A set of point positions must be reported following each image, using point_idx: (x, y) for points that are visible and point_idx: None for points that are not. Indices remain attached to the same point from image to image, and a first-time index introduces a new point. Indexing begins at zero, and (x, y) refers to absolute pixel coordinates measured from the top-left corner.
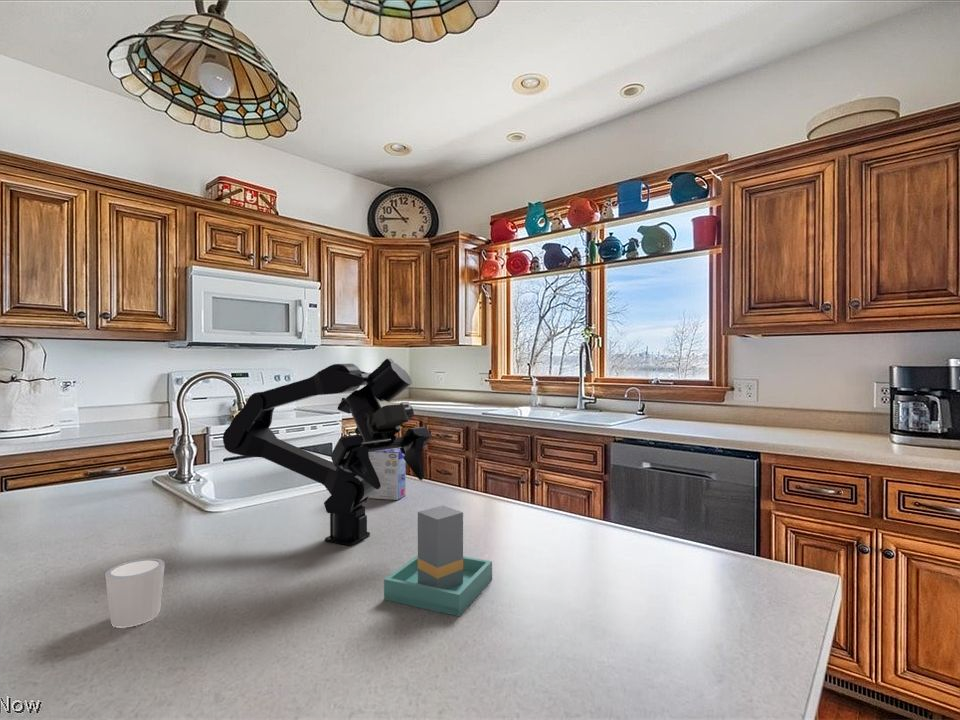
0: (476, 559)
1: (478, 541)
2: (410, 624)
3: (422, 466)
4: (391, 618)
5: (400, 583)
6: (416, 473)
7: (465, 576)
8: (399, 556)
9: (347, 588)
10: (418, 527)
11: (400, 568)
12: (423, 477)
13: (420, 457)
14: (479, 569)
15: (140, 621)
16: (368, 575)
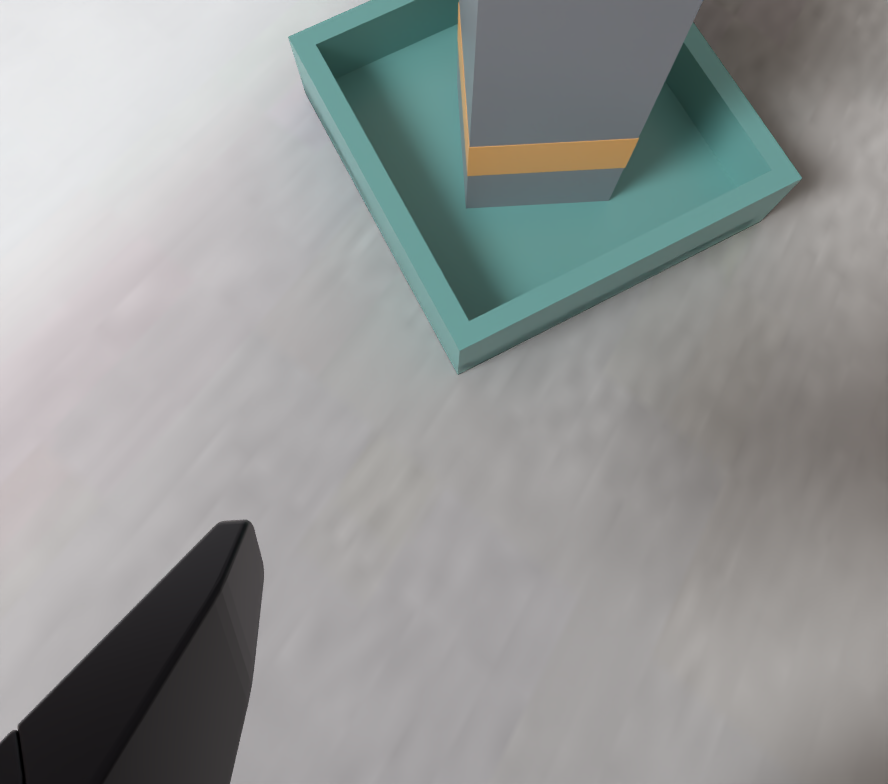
0: (330, 94)
1: (20, 474)
2: (753, 22)
3: (125, 625)
4: (793, 90)
5: (752, 110)
6: (241, 675)
7: (409, 122)
8: (490, 581)
9: (858, 407)
10: (692, 12)
11: (686, 228)
12: (233, 520)
13: (1, 780)
14: (395, 7)
15: None
16: (726, 470)
